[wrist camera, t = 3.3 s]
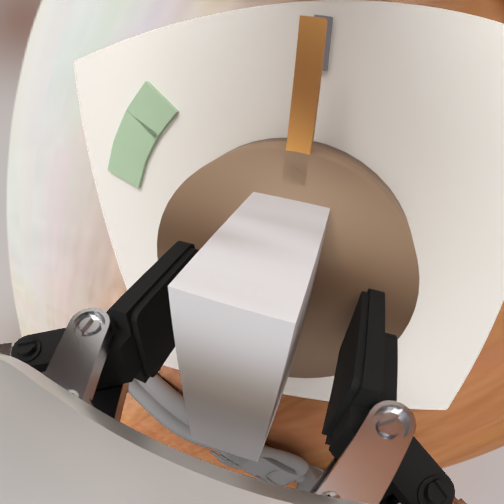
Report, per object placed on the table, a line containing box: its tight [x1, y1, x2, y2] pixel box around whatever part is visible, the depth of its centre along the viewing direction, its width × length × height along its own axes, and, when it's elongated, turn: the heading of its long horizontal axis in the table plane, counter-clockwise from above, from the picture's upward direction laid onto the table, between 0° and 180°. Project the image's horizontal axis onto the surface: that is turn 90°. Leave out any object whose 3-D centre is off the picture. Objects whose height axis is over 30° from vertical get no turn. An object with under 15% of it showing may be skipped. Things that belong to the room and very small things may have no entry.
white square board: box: [74, 0, 504, 410], centre depth 14 cm, size 20×20×2 cm
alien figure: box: [127, 374, 324, 492], centre depth 25 cm, size 8×5×25 cm
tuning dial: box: [157, 15, 420, 462], centre depth 9 cm, size 14×10×7 cm
